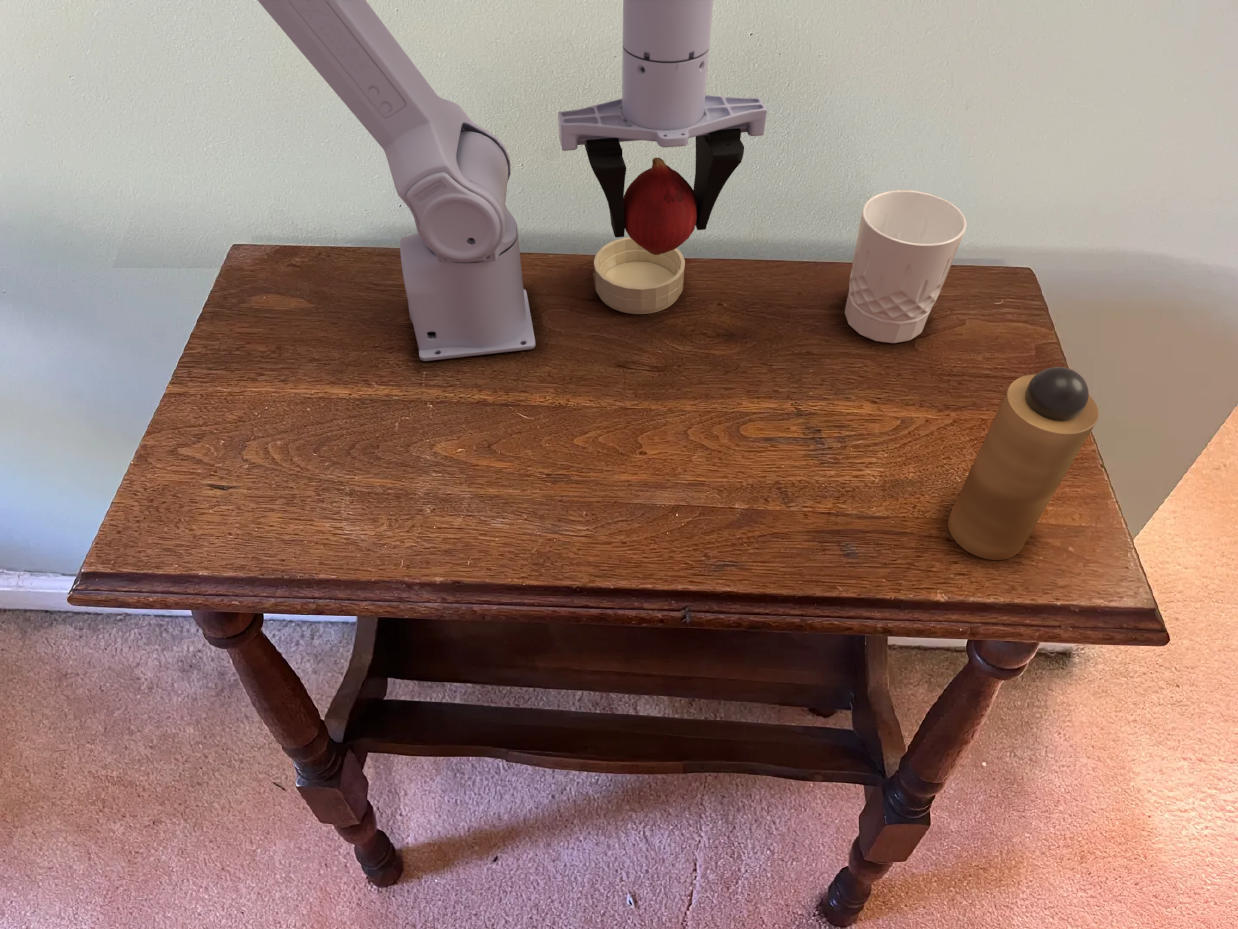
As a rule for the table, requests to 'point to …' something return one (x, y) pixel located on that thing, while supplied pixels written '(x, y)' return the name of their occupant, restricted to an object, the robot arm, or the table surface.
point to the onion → (659, 209)
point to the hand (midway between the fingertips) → (657, 226)
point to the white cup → (901, 263)
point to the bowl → (637, 277)
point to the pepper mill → (1022, 462)
